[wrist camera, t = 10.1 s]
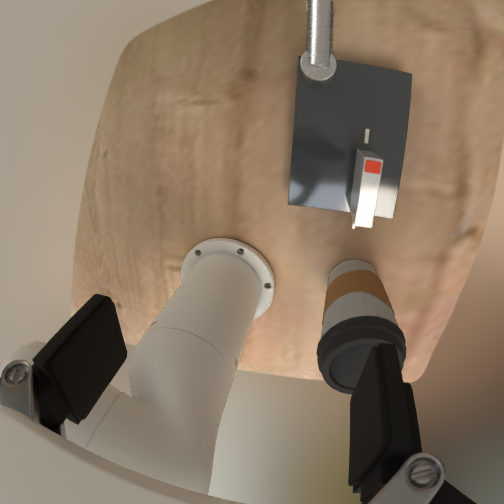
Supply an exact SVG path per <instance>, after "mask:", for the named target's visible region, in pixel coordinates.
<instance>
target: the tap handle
mask: <svg viewBox="0 0 504 504" xmlns="http://www.w3.org/2000/svg"><path fill="white" fill-rule="evenodd" d="M382 165H383V160H382V159H381V158H380V157H379V156H378V155H376V154H375V153H374V152H372V151H366V150H360V149H357V155H356V163H355V171H354V178H353V185H352V192H351V199H350V206H349V208H350V212H351V216H352V219H353V223H354V226H359V227H366V228H372V224H373V219H374V214H375V208H376V203H377V197H378V191H379V185H380V179H381V172H382Z"/></svg>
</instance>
